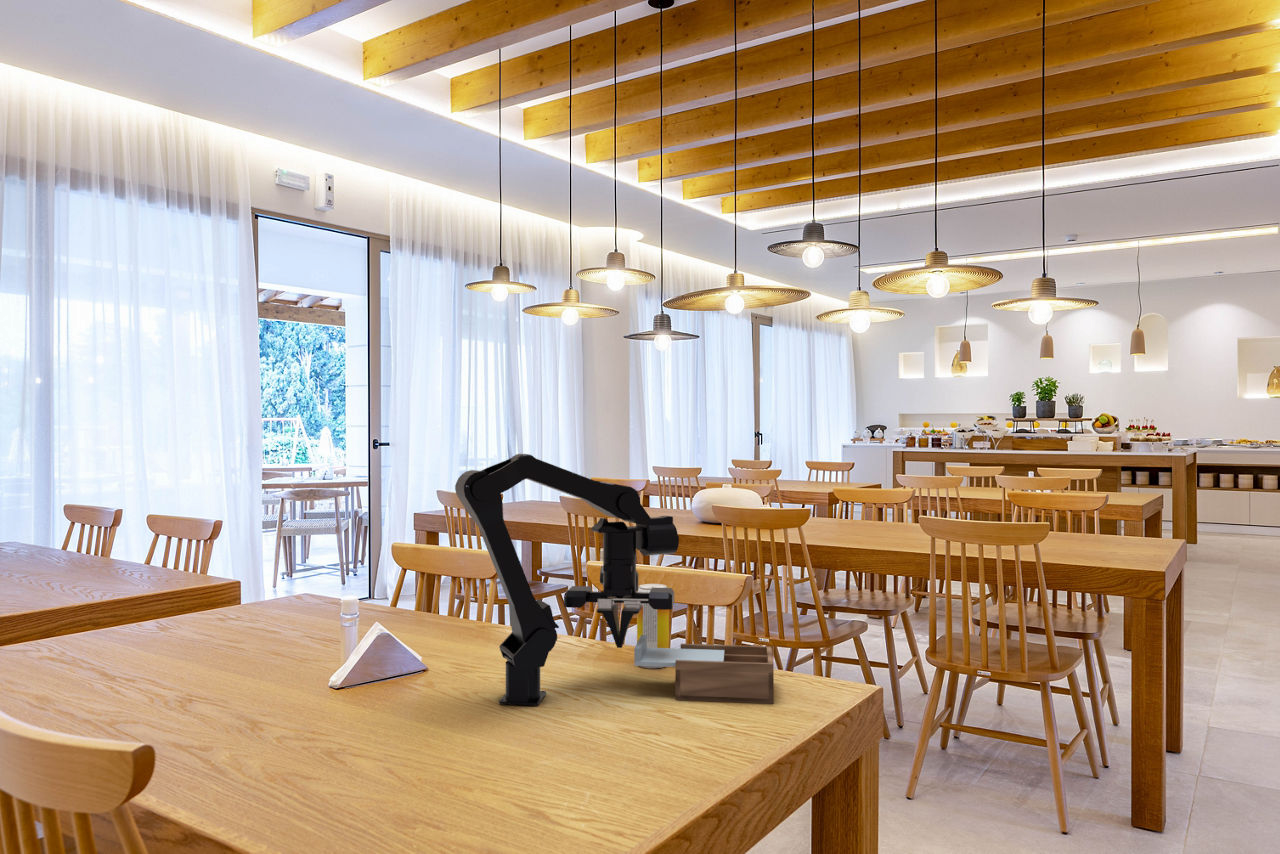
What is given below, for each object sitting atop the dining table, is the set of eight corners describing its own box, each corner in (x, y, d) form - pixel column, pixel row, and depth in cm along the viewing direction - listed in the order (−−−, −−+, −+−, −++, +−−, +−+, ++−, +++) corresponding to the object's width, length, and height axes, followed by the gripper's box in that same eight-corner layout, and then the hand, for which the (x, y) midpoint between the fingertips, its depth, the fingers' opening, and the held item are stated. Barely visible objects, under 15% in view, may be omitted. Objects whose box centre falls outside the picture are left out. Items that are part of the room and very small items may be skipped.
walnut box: (773, 703, 137) (773, 664, 138) (675, 700, 139) (675, 661, 140) (771, 682, 149) (771, 646, 149) (680, 679, 151) (680, 643, 151)
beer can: (669, 661, 164) (669, 583, 164) (667, 669, 158) (667, 589, 158) (638, 660, 164) (638, 583, 164) (635, 668, 158) (635, 588, 158)
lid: (723, 668, 140) (723, 651, 140) (634, 665, 142) (634, 648, 142) (724, 654, 149) (724, 637, 149) (641, 651, 151) (641, 635, 151)
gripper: (676, 551, 154) (676, 637, 154) (575, 550, 156) (575, 635, 156) (671, 560, 143) (671, 653, 143) (563, 559, 145) (563, 650, 145)
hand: (619, 647), depth 147 cm, fingers closed
